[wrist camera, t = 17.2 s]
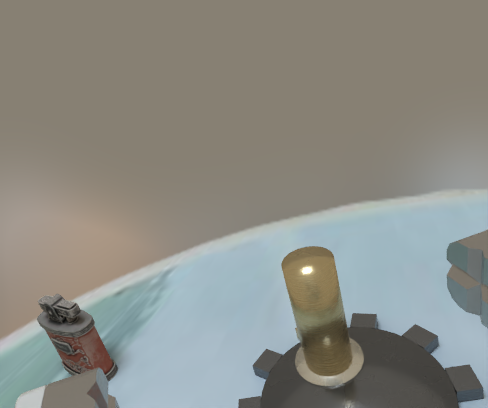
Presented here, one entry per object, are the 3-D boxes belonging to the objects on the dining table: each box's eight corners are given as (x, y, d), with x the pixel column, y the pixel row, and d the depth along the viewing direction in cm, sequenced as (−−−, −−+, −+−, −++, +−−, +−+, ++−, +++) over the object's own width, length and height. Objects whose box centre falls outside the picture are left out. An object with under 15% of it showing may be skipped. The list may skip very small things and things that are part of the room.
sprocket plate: (292, 594, 26) (288, 583, 25) (220, 368, 44) (217, 359, 43) (558, 458, 29) (559, 445, 28) (388, 299, 47) (387, 289, 46)
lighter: (58, 370, 50) (19, 303, 46) (80, 349, 52) (45, 284, 48) (101, 389, 45) (63, 316, 41) (124, 365, 48) (89, 295, 44)
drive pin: (317, 383, 38) (293, 283, 33) (298, 351, 42) (274, 258, 37) (361, 364, 38) (343, 263, 34) (338, 334, 42) (319, 241, 38)
